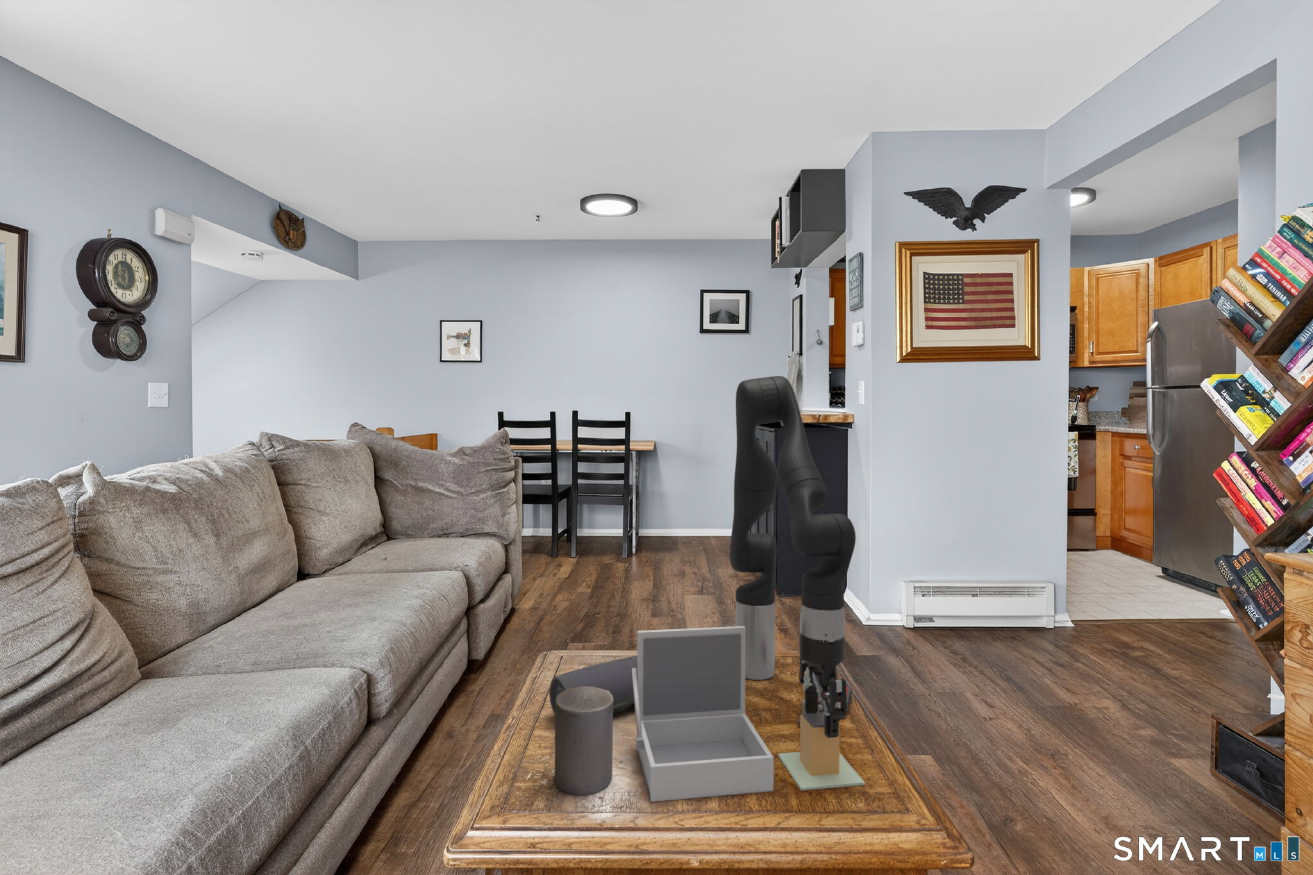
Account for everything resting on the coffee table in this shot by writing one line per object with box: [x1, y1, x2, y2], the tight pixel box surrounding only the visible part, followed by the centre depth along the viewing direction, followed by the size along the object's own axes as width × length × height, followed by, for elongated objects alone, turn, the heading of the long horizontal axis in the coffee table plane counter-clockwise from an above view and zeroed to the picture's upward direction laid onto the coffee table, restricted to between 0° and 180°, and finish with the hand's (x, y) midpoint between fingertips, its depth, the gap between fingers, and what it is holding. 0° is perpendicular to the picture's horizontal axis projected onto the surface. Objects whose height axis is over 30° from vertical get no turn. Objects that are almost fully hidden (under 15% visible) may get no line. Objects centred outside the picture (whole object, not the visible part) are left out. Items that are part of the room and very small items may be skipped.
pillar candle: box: [554, 686, 614, 796], centre depth 108 cm, size 10×10×15 cm
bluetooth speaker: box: [548, 655, 637, 715], centre depth 133 cm, size 23×9×10 cm, turn 124°
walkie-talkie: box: [796, 683, 853, 726], centre depth 134 cm, size 9×4×20 cm
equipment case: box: [632, 625, 775, 803], centre depth 111 cm, size 18×21×22 cm
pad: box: [777, 751, 866, 791], centre depth 111 cm, size 11×11×1 cm
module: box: [799, 713, 841, 776], centre depth 111 cm, size 5×5×8 cm
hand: (821, 724), depth 111 cm, fingers open, 8 cm apart
